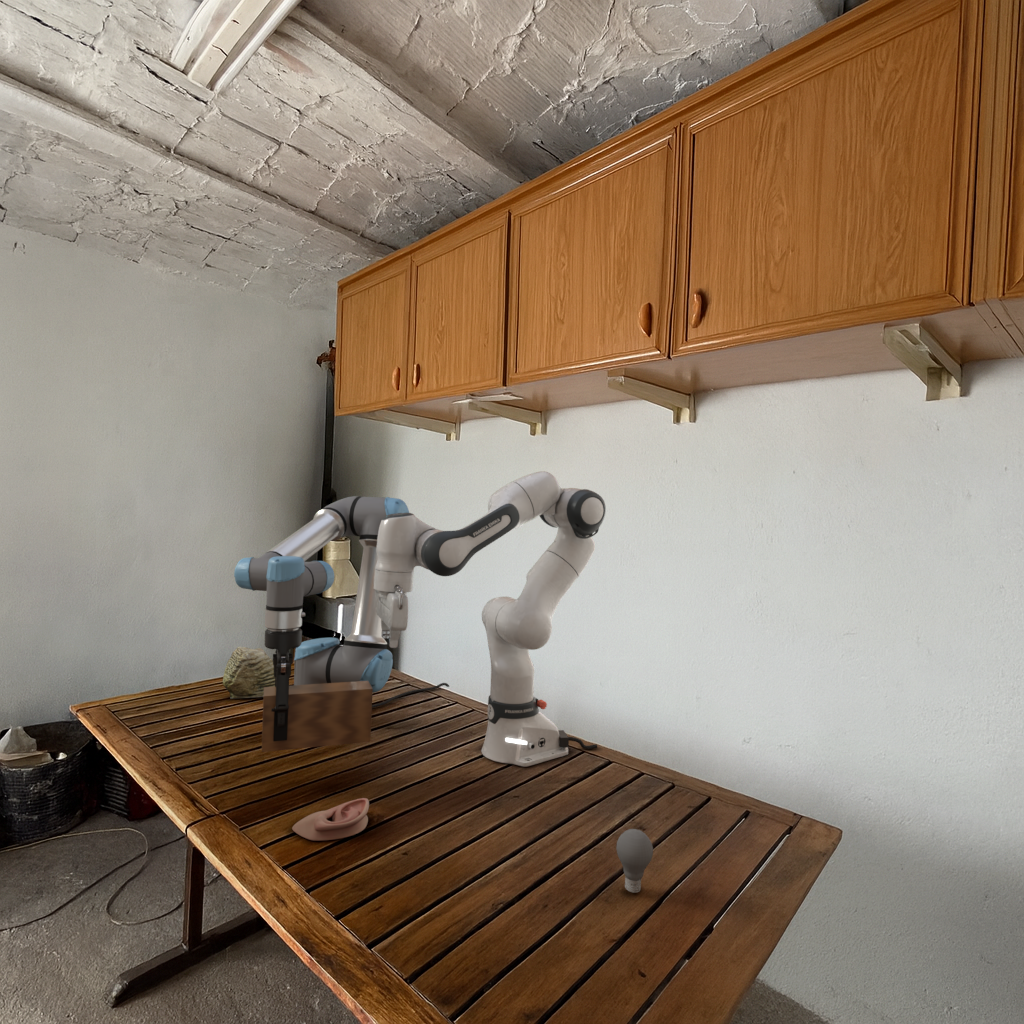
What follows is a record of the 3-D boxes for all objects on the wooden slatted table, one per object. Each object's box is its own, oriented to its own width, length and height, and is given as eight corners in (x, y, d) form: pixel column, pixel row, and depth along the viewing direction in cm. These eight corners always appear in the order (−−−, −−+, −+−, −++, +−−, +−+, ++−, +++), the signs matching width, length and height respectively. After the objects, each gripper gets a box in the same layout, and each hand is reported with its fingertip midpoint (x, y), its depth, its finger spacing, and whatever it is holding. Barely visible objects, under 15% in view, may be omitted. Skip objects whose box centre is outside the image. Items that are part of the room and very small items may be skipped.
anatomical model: (284, 814, 117) (315, 787, 129) (283, 836, 118) (314, 807, 129) (350, 825, 115) (376, 796, 126) (349, 847, 115) (375, 816, 126)
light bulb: (610, 879, 108) (613, 822, 108) (644, 879, 109) (647, 822, 109) (619, 902, 102) (622, 840, 102) (655, 901, 103) (658, 840, 103)
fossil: (218, 695, 195) (220, 647, 195) (278, 685, 208) (279, 640, 207) (228, 703, 189) (230, 653, 188) (289, 692, 201) (290, 645, 201)
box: (261, 752, 133) (263, 696, 133) (261, 740, 139) (263, 687, 139) (370, 741, 141) (372, 688, 141) (366, 731, 147) (368, 680, 147)
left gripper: (304, 637, 129) (300, 749, 130) (299, 619, 147) (296, 717, 148) (265, 638, 126) (260, 753, 127) (265, 620, 144) (261, 720, 145)
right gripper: (417, 589, 137) (412, 653, 137) (398, 577, 156) (394, 633, 156) (388, 588, 135) (383, 653, 135) (372, 576, 154) (368, 633, 154)
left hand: (279, 733), depth 137 cm, fingers closed on box, 6 cm apart
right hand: (389, 642), depth 146 cm, fingers open, 8 cm apart
